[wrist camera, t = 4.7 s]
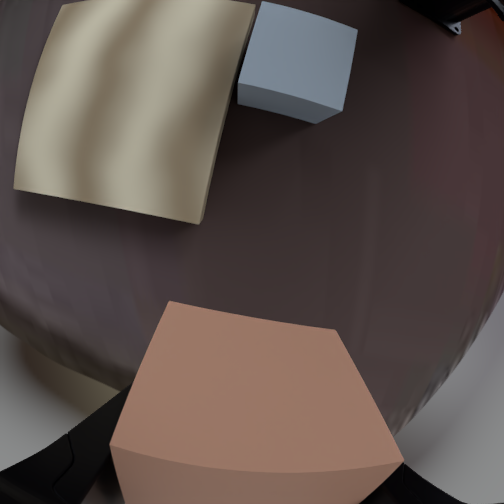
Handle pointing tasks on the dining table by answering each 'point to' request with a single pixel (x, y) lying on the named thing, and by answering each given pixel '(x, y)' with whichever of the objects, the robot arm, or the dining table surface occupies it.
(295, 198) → the dining table surface
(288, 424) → the terracotta block
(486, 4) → the robot arm
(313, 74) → the slate block
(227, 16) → the birch board
